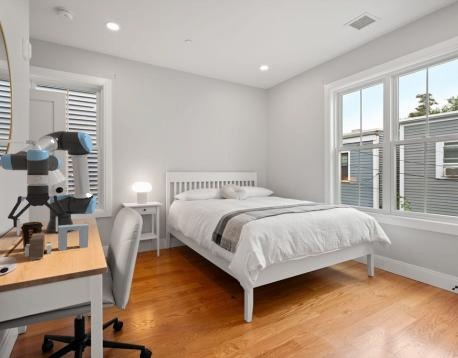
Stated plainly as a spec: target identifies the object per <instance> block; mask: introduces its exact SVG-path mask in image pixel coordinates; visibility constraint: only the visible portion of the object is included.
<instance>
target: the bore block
mask: <svg viewBox="0 0 458 358" xmlns="http://www.w3.org/2000/svg"><path fill="white" fill-rule="evenodd" d="M67 230H72V231H77V230H78V231H79V233H78V234H79V235H78V237H79V238H78V240H79V242H78V243H79V244H78V245H79V249H81V248H82V249H84V248H88V247H89V224H88V223H75V224H73V225H62V226H58V233H57V235H58V237H57V240H58V241H57V243H58V244H57V250H58V251H59V252H60V251H67V250H68V232H67Z"/></svg>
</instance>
